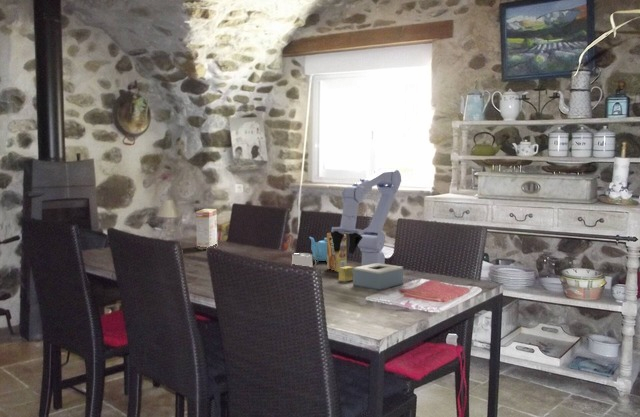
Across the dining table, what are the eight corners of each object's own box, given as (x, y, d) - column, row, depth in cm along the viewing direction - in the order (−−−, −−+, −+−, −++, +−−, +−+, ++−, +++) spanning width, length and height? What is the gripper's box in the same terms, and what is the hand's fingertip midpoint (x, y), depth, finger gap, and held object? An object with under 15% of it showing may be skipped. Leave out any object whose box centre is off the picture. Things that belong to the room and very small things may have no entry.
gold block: (347, 278, 237) (347, 266, 237) (353, 279, 235) (353, 267, 235) (338, 280, 234) (338, 267, 233) (344, 281, 232) (344, 268, 231)
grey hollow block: (377, 279, 235) (377, 262, 235) (402, 284, 227) (402, 266, 226) (353, 285, 225) (353, 267, 225) (378, 290, 217) (379, 272, 216)
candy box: (347, 271, 252) (347, 234, 250) (338, 272, 249) (338, 235, 248) (334, 268, 259) (334, 232, 258) (326, 269, 257) (326, 232, 255)
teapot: (340, 257, 286) (340, 235, 285) (346, 262, 271) (346, 239, 270) (309, 258, 284) (308, 236, 283) (313, 263, 269) (313, 240, 268)
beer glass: (291, 297, 207) (291, 253, 206) (312, 296, 208) (311, 252, 206) (292, 302, 200) (291, 256, 199) (313, 301, 201) (313, 256, 200)
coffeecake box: (204, 245, 322) (203, 208, 320) (217, 246, 321) (217, 208, 319) (196, 250, 307) (195, 211, 305) (209, 250, 306) (209, 211, 304)
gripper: (328, 214, 237) (322, 249, 235) (357, 216, 227) (351, 252, 225) (340, 217, 242) (335, 251, 240) (368, 219, 232) (363, 255, 230)
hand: (343, 252), depth 233 cm, fingers open, 7 cm apart
